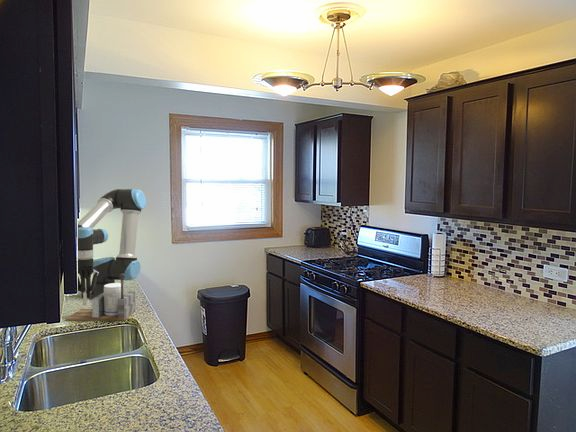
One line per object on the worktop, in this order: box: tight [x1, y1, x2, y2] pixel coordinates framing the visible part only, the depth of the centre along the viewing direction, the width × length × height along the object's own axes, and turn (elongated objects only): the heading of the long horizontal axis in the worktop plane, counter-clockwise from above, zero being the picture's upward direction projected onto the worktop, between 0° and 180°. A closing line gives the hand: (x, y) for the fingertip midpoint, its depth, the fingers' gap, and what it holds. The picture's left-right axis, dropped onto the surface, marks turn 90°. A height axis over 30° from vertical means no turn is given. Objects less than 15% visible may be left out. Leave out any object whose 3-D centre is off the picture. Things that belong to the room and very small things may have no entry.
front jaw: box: [91, 292, 104, 317], centre depth 207 cm, size 15×3×9 cm, turn 2°
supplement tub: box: [104, 282, 121, 316], centre depth 207 cm, size 10×10×15 cm
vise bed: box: [65, 273, 136, 322], centre depth 207 cm, size 16×28×23 cm, turn 92°
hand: (86, 304), depth 207 cm, fingers closed
